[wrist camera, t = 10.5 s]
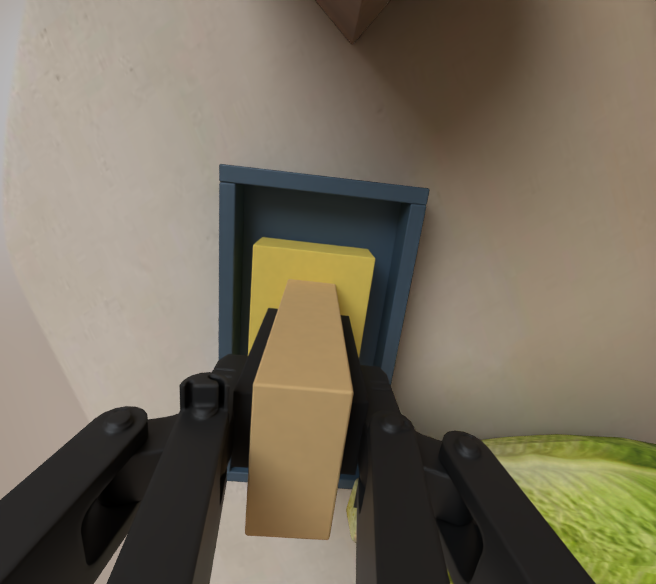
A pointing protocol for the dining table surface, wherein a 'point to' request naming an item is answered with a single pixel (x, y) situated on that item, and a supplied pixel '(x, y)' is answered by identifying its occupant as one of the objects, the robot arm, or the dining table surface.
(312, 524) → the yellow based tan block
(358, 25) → the wooden block
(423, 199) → the tray
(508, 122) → the dining table surface
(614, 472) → the lettuce
